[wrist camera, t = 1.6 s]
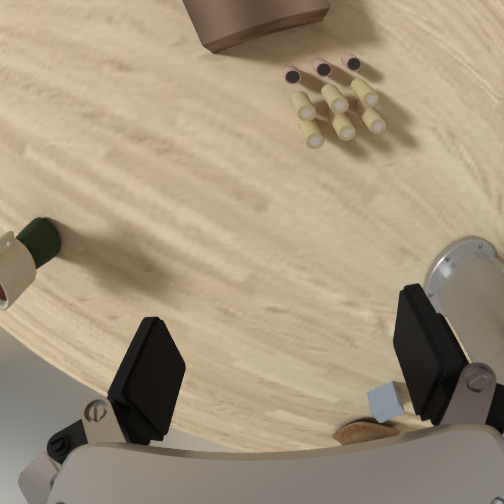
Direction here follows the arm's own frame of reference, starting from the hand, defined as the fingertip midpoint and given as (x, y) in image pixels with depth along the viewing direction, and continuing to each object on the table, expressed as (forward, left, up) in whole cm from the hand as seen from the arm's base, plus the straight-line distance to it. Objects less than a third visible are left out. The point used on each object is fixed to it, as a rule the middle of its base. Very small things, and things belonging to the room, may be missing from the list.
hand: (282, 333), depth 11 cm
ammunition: (-8, -6, -22) cm, 24 cm away
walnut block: (-5, -20, -22) cm, 30 cm away
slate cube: (-6, +42, -21) cm, 48 cm away
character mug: (+32, -6, -21) cm, 39 cm away
